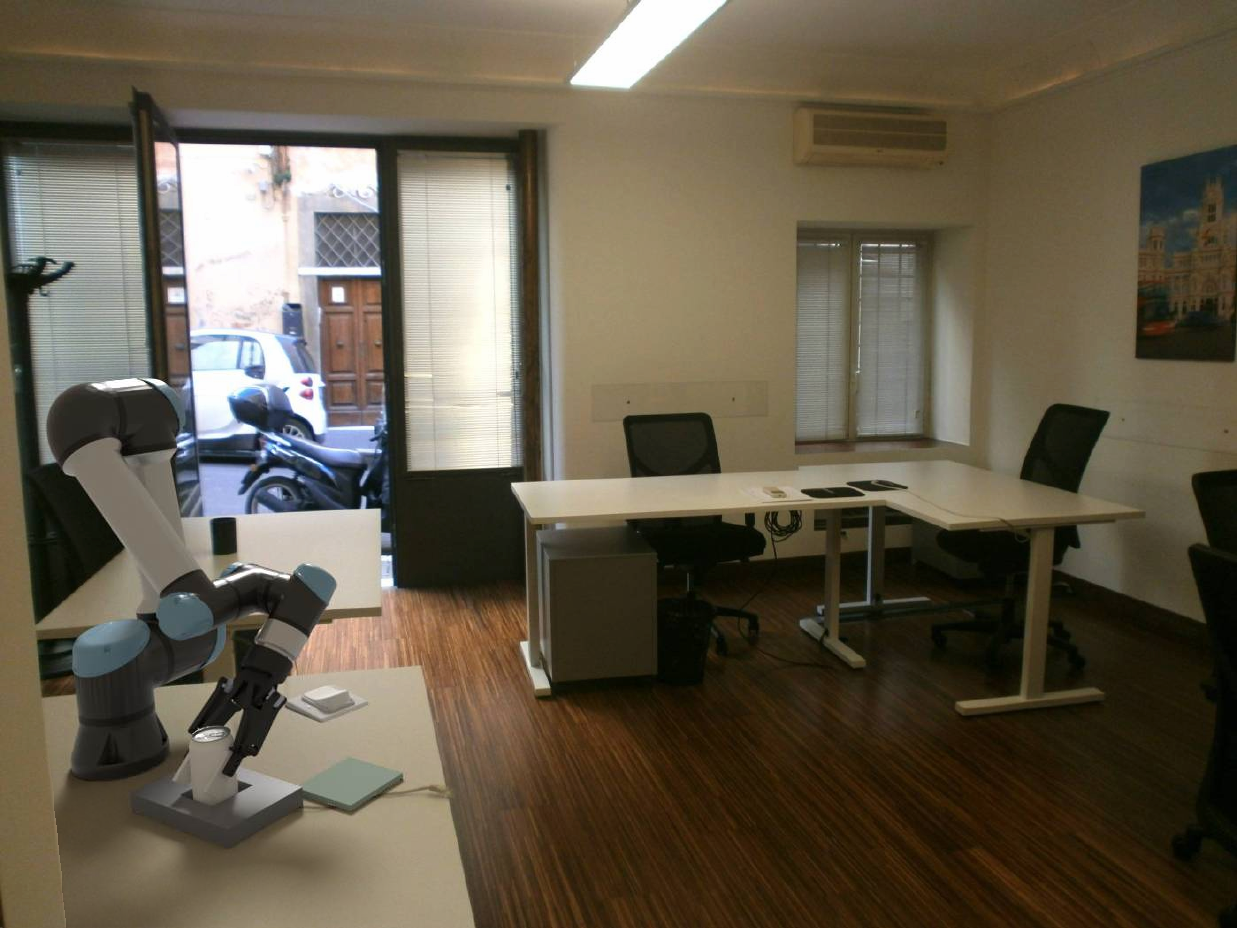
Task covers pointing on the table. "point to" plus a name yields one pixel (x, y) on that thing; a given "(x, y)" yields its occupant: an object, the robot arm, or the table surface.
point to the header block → (219, 807)
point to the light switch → (326, 703)
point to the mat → (349, 783)
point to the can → (210, 762)
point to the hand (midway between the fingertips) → (194, 789)
